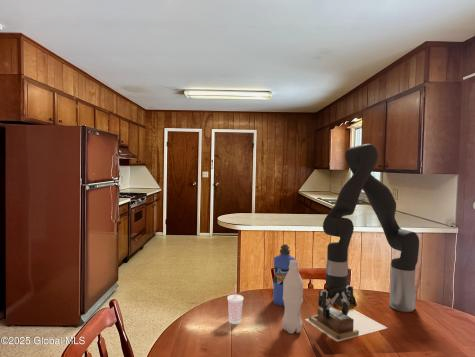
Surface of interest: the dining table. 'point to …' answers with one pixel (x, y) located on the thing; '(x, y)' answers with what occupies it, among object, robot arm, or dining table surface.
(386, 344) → the dining table surface
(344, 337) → the wall board
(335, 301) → the pottery mug
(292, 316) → the water bottle
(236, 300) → the beverage cup
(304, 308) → the dining table surface
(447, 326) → the dining table surface
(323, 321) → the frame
